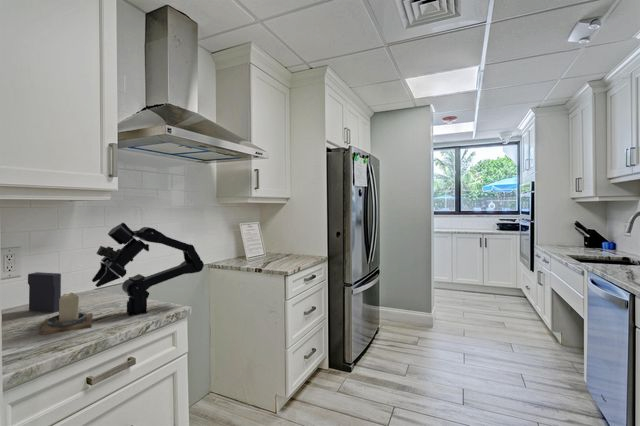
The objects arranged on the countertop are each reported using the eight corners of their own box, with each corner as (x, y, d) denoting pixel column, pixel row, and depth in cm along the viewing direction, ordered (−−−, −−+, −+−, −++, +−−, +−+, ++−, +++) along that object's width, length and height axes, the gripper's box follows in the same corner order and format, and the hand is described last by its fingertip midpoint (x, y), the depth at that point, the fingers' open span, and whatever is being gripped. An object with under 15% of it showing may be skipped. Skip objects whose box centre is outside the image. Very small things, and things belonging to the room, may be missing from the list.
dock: (92, 315, 127) (92, 309, 127) (91, 327, 115) (91, 320, 115) (45, 321, 119) (45, 314, 119) (39, 334, 108) (39, 327, 108)
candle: (55, 324, 115) (55, 295, 114) (65, 318, 120) (66, 291, 120) (71, 324, 115) (72, 295, 115) (81, 318, 121) (82, 291, 120)
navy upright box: (62, 310, 132) (62, 273, 132) (52, 313, 128) (53, 275, 128) (37, 308, 134) (38, 271, 133) (27, 311, 129) (27, 273, 129)
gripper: (107, 236, 132) (73, 266, 125) (116, 240, 118) (78, 274, 111) (129, 254, 138) (97, 284, 131) (140, 260, 124) (105, 294, 117)
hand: (94, 283), depth 122 cm, fingers open, 9 cm apart
